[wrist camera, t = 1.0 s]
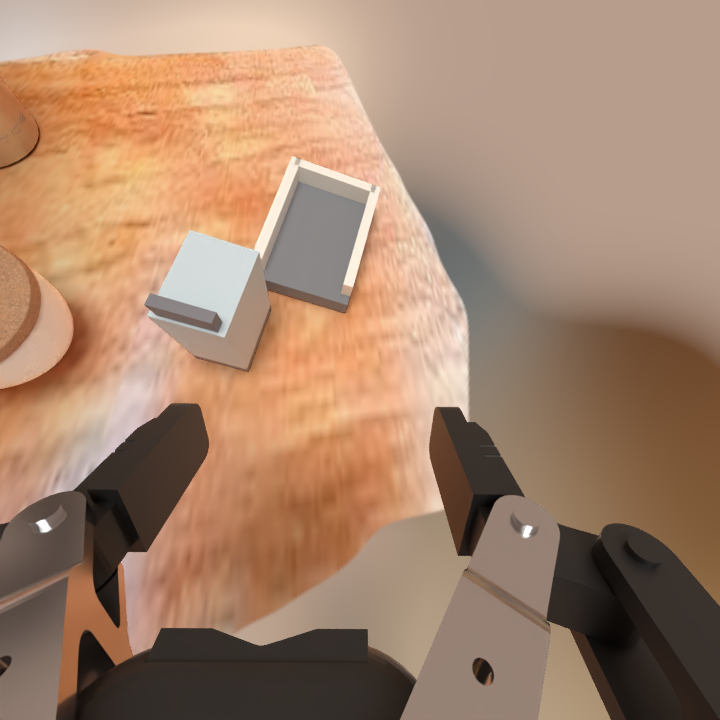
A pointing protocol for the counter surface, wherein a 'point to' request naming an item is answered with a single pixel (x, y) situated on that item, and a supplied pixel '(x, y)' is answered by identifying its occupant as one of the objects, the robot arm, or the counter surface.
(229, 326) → the tall grey block
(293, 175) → the tray
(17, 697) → the robot arm
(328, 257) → the tray
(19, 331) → the lidded jar
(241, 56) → the counter surface
